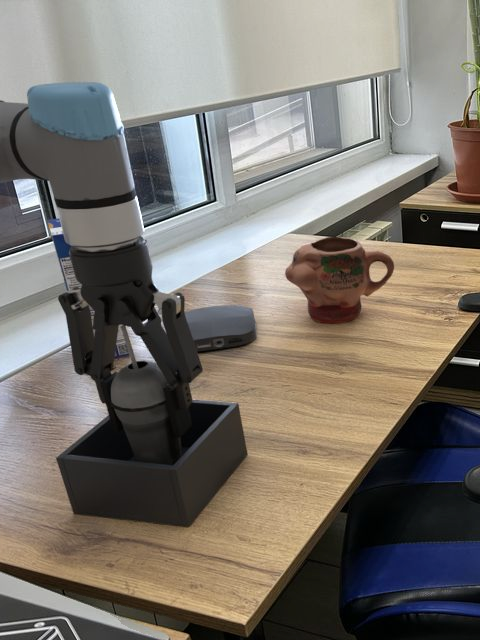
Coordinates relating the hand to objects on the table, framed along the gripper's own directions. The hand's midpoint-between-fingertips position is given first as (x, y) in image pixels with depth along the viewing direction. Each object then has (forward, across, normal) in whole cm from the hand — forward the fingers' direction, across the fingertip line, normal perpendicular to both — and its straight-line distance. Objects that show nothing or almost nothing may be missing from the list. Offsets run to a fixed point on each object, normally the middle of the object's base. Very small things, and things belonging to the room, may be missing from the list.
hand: (153, 428), depth 84 cm
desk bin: (+8, 0, 0) cm, 8 cm away
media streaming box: (+8, +16, -42) cm, 46 cm away
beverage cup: (+7, 0, 0) cm, 7 cm away
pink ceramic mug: (+8, -4, -55) cm, 56 cm away
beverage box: (+8, +32, -34) cm, 47 cm away
